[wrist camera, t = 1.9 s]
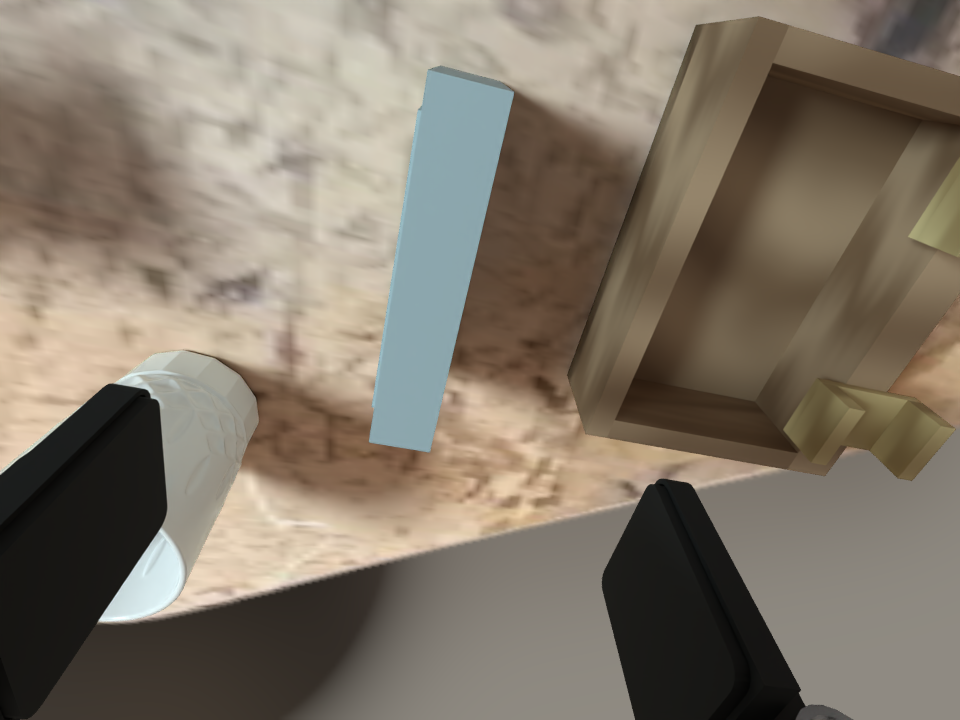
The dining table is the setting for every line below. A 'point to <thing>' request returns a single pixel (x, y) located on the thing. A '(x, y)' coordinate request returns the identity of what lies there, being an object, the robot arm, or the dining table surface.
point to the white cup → (185, 469)
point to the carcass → (781, 257)
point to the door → (436, 249)
